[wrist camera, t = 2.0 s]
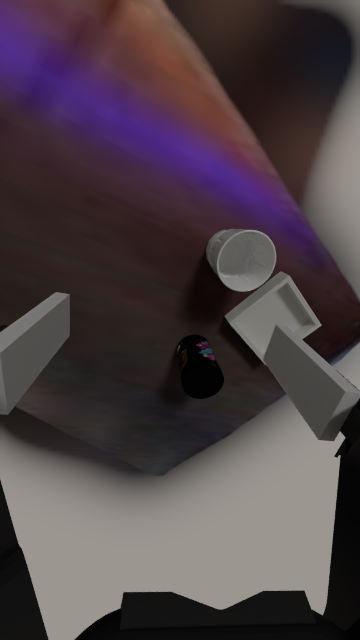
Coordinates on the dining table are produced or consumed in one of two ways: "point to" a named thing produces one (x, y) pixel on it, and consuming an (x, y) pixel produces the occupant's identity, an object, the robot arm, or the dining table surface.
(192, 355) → the supplement container
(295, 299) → the tray
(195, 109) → the dining table surface
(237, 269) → the white cup
